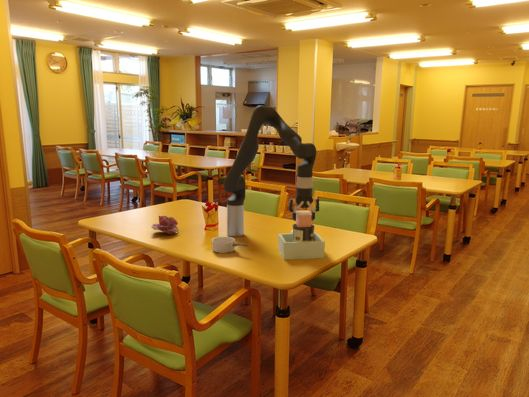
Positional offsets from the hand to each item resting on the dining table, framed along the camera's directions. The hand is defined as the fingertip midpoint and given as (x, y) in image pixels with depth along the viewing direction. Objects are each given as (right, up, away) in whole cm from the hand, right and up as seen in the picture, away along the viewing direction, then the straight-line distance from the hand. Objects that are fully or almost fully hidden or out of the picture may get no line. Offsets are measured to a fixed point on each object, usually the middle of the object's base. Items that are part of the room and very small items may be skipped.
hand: (303, 220), depth 195 cm
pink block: (0, -3, 0) cm, 3 cm away
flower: (-74, -9, +37) cm, 84 cm away
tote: (-1, -16, +3) cm, 17 cm away
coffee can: (0, -17, +3) cm, 17 cm away
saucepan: (-35, -16, +5) cm, 39 cm away
